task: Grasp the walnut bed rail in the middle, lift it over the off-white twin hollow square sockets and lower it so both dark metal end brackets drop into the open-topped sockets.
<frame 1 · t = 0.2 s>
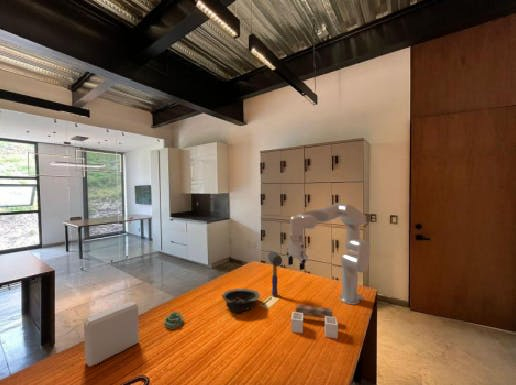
hand: (296, 266, 135), 30 cm above the table, tool pointing down, fingers open, 9 cm apart
decorative artifact: (173, 324, 131), on the table
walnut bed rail: (313, 320, 134), on the table
twin hollow square sockets: (313, 330, 125), on the table
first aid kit: (113, 352, 109), on the table
stone bowl: (241, 305, 151), on the table
rubber mallet: (274, 295, 164), on the table
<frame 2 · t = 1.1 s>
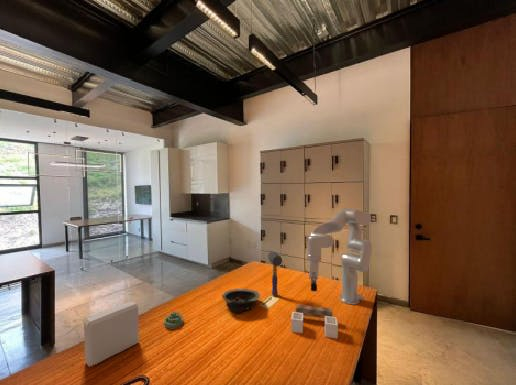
hand: (313, 287, 133), 19 cm above the table, tool pointing down, fingers open, 9 cm apart
nothing on the table moved.
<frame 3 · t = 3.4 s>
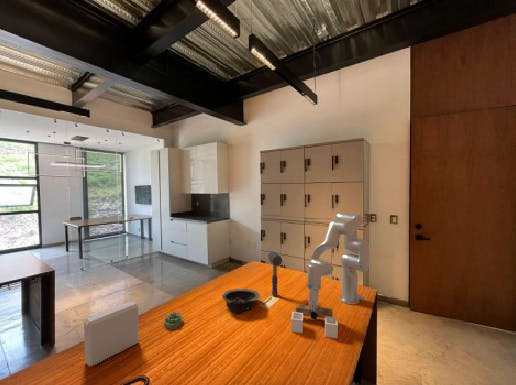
hand: (313, 316, 134), 2 cm above the table, tool pointing down, fingers closed on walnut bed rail, 3 cm apart
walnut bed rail: (313, 320, 134), on the table, touching gripper
everything else where it was.
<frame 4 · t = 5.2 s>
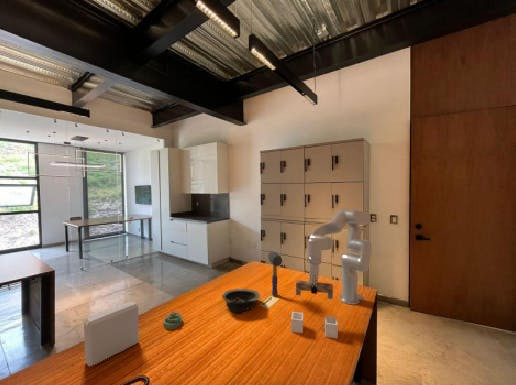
hand: (314, 291, 133), 17 cm above the table, tool pointing down, fingers closed on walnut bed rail, 3 cm apart
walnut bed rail: (314, 295, 133), point 15 cm above the table, touching gripper
everything else where it was.
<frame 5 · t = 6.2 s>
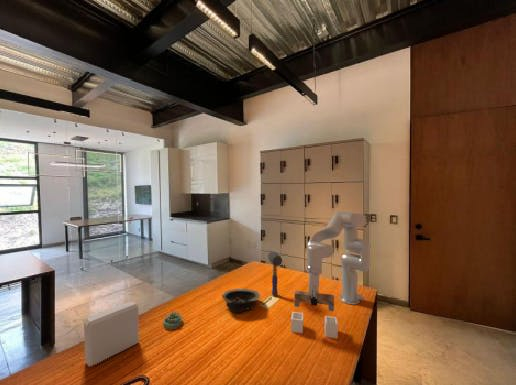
hand: (313, 303, 124), 15 cm above the table, tool pointing down, fingers closed on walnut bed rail, 3 cm apart
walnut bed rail: (313, 307, 124), point 13 cm above the table, touching gripper
everything else where it was.
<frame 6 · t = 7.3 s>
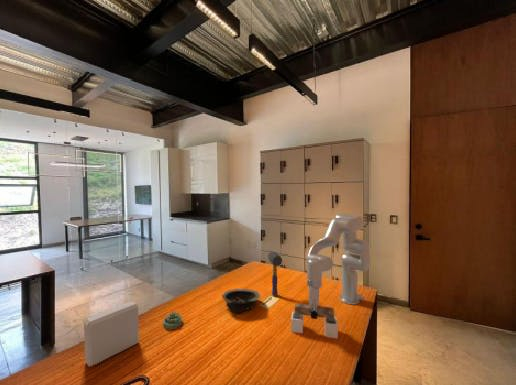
hand: (314, 315, 124), 8 cm above the table, tool pointing down, fingers closed on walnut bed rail, 3 cm apart
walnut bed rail: (314, 320, 124), point 6 cm above the table, touching gripper
everything else where it was.
when the fingers open (8 cm above the table, at t = 7.4 s): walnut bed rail drops 2 cm, resting on twin hollow square sockets.
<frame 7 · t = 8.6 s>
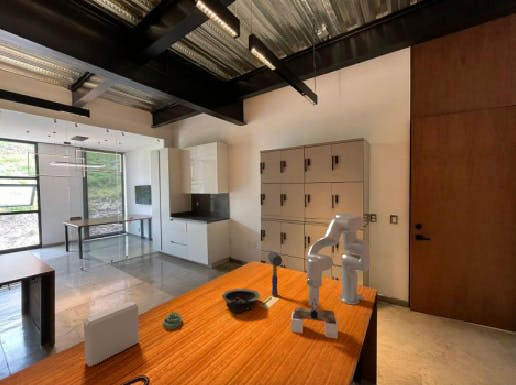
hand: (314, 313, 124), 10 cm above the table, tool pointing down, fingers open, 9 cm apart
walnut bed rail: (314, 323, 124), point 4 cm above the table, touching twin hollow square sockets
everything else where it was.
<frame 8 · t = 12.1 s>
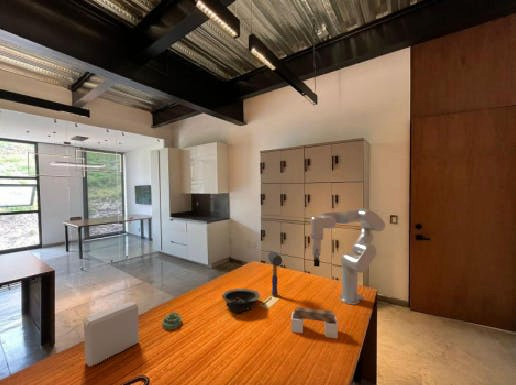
hand: (316, 263, 146), 28 cm above the table, tool pointing down, fingers open, 9 cm apart
at the end: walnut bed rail 0.1 cm off-centre on the twin hollow square sockets, point 4.0 cm above the twin hollow square sockets's base; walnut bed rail tilted 0°; the gripper is holding nothing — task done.
